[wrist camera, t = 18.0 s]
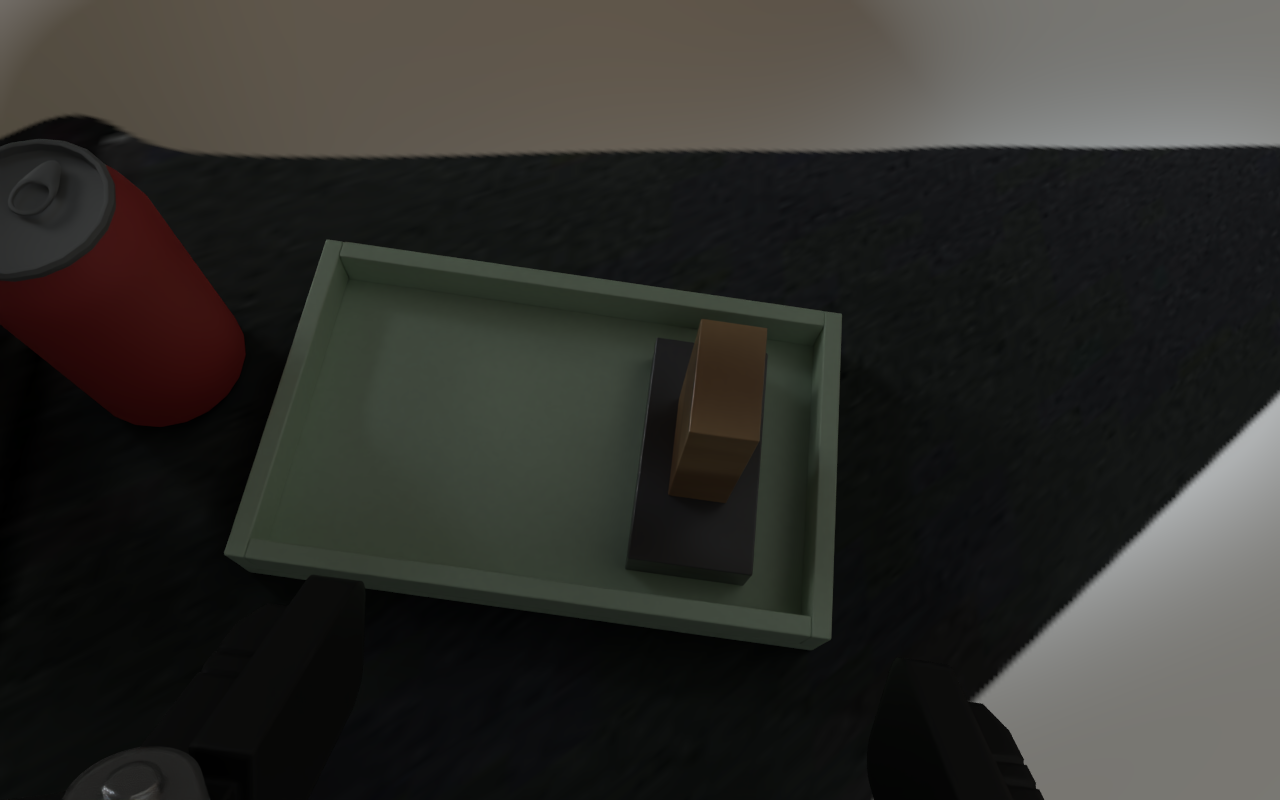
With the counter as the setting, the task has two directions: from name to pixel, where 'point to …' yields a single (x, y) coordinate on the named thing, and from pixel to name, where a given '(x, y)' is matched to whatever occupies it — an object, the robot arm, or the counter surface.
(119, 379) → the beer can
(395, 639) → the counter surface
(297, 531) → the tray
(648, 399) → the eraser
